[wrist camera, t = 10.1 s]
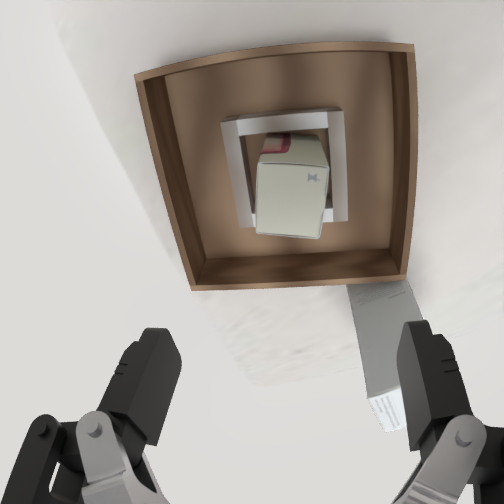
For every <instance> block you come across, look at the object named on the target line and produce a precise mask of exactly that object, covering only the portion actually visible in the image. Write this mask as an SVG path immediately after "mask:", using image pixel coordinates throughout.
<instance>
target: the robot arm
mask: <svg viewBox="0 0 504 504" xmlns="http://www.w3.org/2000/svg"><path fill="white" fill-rule="evenodd" d="M396 361H397V370H398V375H399V381H400V386H401V392H402V398H403V404H404V410H405V416H406V423H407V430H408V437H409V446H410V451H417V450H420V455H421V460H420V461H419V463H418V465H417V466H416V468H415V470H414V471H413V473H412V474H411V476H410V477H409V479H408V480H407V482H406V483H405V485H404V486H403V488H402V489H401V490H400V492H399V493H398V495H397V496H396V497H395V499H394V500H393V502H392V503H391V504H456V503H457V501H458V498H459V497H460V495H461V493H462V491H463V489H464V487H465V485H466V484H473V487H474V504H504V428H500V427H490V426H486V425H484V424H483V423H482V422H481V421H480V420H479V419H478V418H476V417H475V416H474V415H473V413H472V411H471V407H470V404H469V400H468V397H467V393H466V390H465V386H464V383H463V380H462V377H461V373H460V372H459V367H458V364H457V361H455V355H454V352H453V350H452V346H451V344H450V343H449V342H448V341H447V340H446V339H445V337H444V336H443V335H442V334H436V335H433V334H432V331H431V328H430V325H429V323H428V321H427V320H418V321H409V322H405V323H404V325H403V329H402V333H401V338H400V342H399V346H398V350H397V358H396ZM181 363H182V361H181V356H180V353H179V351H178V349H177V347H176V345H175V343H174V341H173V339H172V336H171V334H170V332H169V331H168V330H167V329H166V328H146V329H145V330H144V331H143V333H142V336H141V337H140V339H139V342H138V341H134V342H133V343H132V344H131V345H130V346H129V347H128V348H127V349H126V350H125V351H124V353H123V355H122V357H121V360H120V362H119V365H118V366H117V368H116V370H115V374H114V375H113V376H112V378H111V380H110V383H109V385H108V387H107V389H106V391H105V394H104V396H103V398H102V400H101V402H100V404H99V407H98V408H97V410H96V411H92V412H89V413H87V414H85V415H84V416H83V417H82V418H81V419H80V420H79V421H76V422H62V423H59V422H58V421H57V420H56V419H55V418H54V417H53V416H51V415H48V414H44V415H41V416H39V417H37V418H36V419H35V420H34V421H33V422H32V424H31V426H30V428H29V430H28V433H27V435H26V437H25V440H24V442H23V444H22V447H21V449H20V452H19V454H18V457H17V459H16V462H15V465H14V467H13V470H12V472H11V475H10V478H9V481H8V484H7V486H6V489H5V493H4V496H3V498H2V501H1V504H170V503H169V502H168V501H167V499H166V498H165V497H164V495H163V494H162V492H161V490H160V487H159V485H158V483H157V481H156V479H155V476H154V474H153V472H152V469H151V467H150V465H149V462H148V461H147V458H146V455H145V453H144V452H143V450H144V447H145V444H148V445H153V446H157V443H158V440H159V437H160V433H161V430H162V427H163V424H164V421H165V418H166V415H167V412H168V408H169V405H170V402H171V399H172V396H173V393H174V390H175V386H176V384H177V381H178V378H179V375H180V372H181V366H182V364H181ZM57 462H58V463H60V466H59V469H58V472H57V475H56V478H55V481H54V484H53V487H52V490H51V492H49V484H50V481H51V478H52V475H53V472H54V469H55V466H56V464H57Z"/></svg>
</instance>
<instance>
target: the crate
mask: <svg viewBox="0 0 504 504" xmlns="http://www.w3.org/2000/svg"><path fill="white" fill-rule="evenodd" d="M134 78H135V82H136V87H137V92H138V96H139V101H140V106H141V110H142V114H143V119H144V123H145V127H146V132H147V136H148V140H149V144H150V148H151V152H152V156H153V160H154V164H155V168H156V172H157V175H158V179H159V183H160V187H161V190H162V194H163V198H164V201H165V205H166V209H167V212H168V216H169V219H170V223H171V226H172V229H173V233H174V236H175V240H176V243H177V246H178V249H179V253H180V256H181V259H182V262H183V266H184V269H185V272H186V275H187V278H188V281H189V284H190V288H191V291H205V290H238V289H264V288H287V287H307V286H325V285H342V284H357V283H372V282H386V281H399V280H405V278H406V272H407V266H408V259H409V252H410V244H411V236H412V227H413V218H414V207H415V195H416V180H417V159H418V97H417V77H416V62H415V51H414V44H404V43H388V42H317V43H301V44H288V45H278V46H269V47H260V48H253V49H246V50H239V51H233V52H227V53H221V54H216V55H211V56H206V57H201V58H196V59H191V60H187V61H183V62H178V63H174V64H170V65H166V66H163V67H159V68H155V69H152V70H148V71H145V72H141V73H138V74H134ZM267 133H293V134H305V135H313V136H318V137H319V139H320V142H321V145H322V148H323V151H324V154H325V157H326V159H327V162H328V165H329V169H330V170H329V178H328V186H327V195H326V204H325V210H324V218H323V224H322V229H321V235H320V237H319V238H318V239H310V238H298V237H287V236H277V235H267V234H258V233H256V230H255V229H256V225H255V207H256V178H257V164H258V161H259V158H260V155H261V151H262V148H263V144H264V141H265V137H266V134H267Z"/></svg>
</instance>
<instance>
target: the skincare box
mask: <svg viewBox="0 0 504 504" xmlns="http://www.w3.org/2000/svg"><path fill="white" fill-rule="evenodd" d="M346 286H347V290H348V294H349V299H350V303H351V308H352V313H353V318H354V323H355V328H356V333H357V338H358V343H359V348H360V354H361V359H362V365H363V370H364V376H365V383H366V390H367V399H368V401H369V403H370V405H371V407H372V409H373V411H374V413H375V415H376V417H377V419H378V421H379V422H380V424H381V426H382V428H383V429H384V431H385V432H386V433H387V432H391V431H394V430H398V429H401V428H404V427H407V423H406V416H405V410H404V404H403V398H402V392H401V386H400V381H399V375H398V370H397V361H396V358H397V350H398V346H399V342H400V338H401V333H402V329H403V325H404V323H405V322H409V321H418V320H423V317H422V315H421V312H420V310H419V307H418V305H417V302H416V300H415V297H414V295H413V292H412V290H411V288H410V285H409V283H408V281H407V279H406V278H405V280H399V281H386V282H372V283H357V284H346Z"/></svg>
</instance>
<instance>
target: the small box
mask: <svg viewBox="0 0 504 504" xmlns="http://www.w3.org/2000/svg"><path fill="white" fill-rule="evenodd" d="M329 170H330V169H329V165H328V162H327V159H326V157H325V154H324V151H323V148H322V145H321V142H320V139H319V137H318V136H313V135H305V134H293V133H267V134H266V137H265V141H264V144H263V148H262V151H261V155H260V158H259V161H258V164H257V178H256V207H255V225H256V229H255V230H256V233H258V234H267V235H277V236H287V237H298V238H310V239H318V238H319V237H320V235H321V229H322V224H323V218H324V210H325V204H326V195H327V186H328V178H329Z"/></svg>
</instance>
